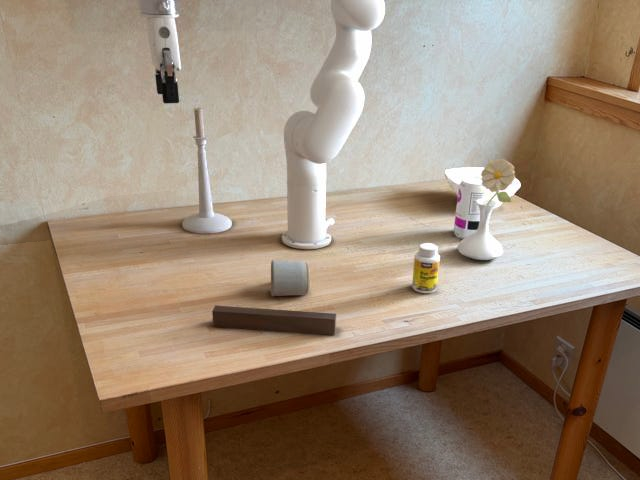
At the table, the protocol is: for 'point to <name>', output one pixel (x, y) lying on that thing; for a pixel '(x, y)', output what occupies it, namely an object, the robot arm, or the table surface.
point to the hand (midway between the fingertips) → (168, 98)
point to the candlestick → (204, 190)
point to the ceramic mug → (289, 278)
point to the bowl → (458, 174)
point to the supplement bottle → (426, 268)
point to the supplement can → (468, 206)
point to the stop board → (274, 320)
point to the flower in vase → (488, 211)
